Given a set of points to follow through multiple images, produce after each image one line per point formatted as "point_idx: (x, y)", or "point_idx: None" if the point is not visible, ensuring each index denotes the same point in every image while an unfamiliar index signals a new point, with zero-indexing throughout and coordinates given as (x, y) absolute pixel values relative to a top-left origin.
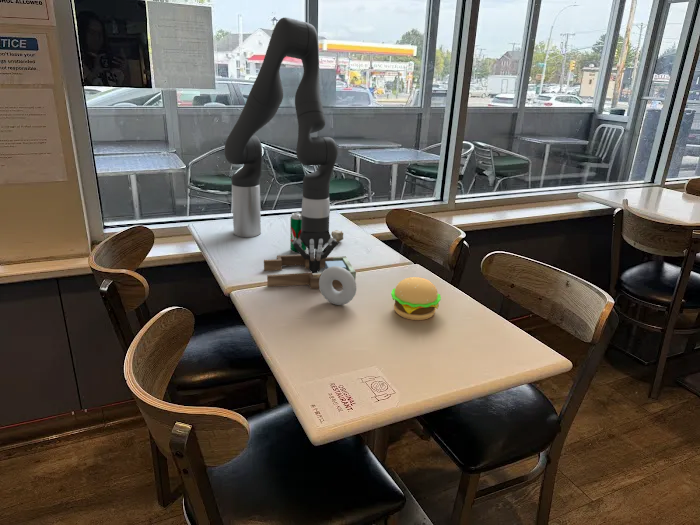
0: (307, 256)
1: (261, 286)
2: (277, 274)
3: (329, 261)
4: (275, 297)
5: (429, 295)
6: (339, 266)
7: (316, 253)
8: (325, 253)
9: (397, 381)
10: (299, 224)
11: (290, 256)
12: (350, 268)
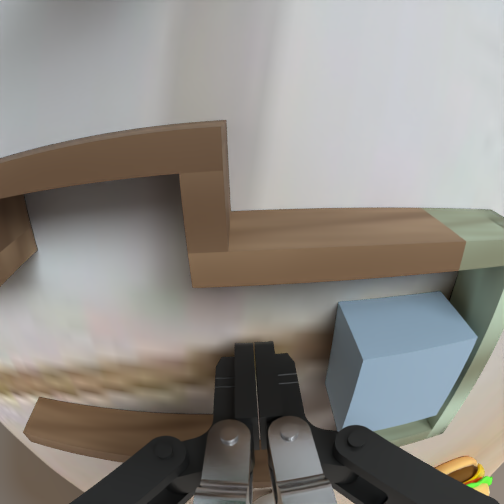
0: (193, 491)
1: (25, 396)
2: (57, 442)
3: (394, 359)
4: (99, 458)
5: None
6: (409, 415)
7: (275, 502)
8: (352, 494)
9: None
10: None
11: (34, 190)
12: (448, 410)
